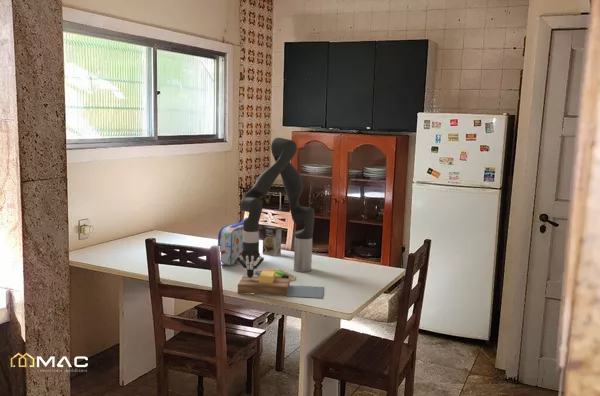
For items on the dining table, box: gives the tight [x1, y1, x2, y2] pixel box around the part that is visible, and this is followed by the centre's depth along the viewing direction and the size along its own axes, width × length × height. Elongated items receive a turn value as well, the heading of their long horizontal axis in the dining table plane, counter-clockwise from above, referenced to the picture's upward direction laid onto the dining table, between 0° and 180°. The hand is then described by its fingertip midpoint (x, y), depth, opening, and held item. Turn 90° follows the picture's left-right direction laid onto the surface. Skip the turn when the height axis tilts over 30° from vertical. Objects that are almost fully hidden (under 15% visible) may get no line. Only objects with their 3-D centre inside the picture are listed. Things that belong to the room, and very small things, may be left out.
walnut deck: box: [237, 275, 291, 297], centre depth 252 cm, size 14×22×4 cm, turn 86°
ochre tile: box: [259, 270, 275, 283], centre depth 254 cm, size 9×6×3 cm, turn 176°
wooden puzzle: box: [252, 269, 297, 282], centre depth 272 cm, size 18×19×4 cm
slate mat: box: [285, 284, 325, 299], centre depth 251 cm, size 16×16×1 cm
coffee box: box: [262, 225, 283, 257], centre depth 320 cm, size 9×6×16 cm
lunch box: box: [217, 220, 246, 266], centre depth 300 cm, size 28×10×22 cm, turn 158°
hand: (250, 277), depth 255 cm, fingers closed
